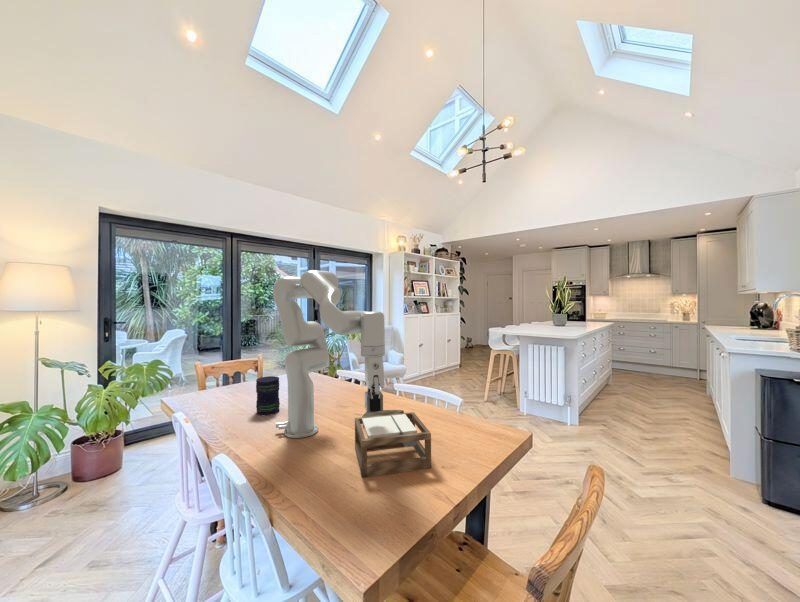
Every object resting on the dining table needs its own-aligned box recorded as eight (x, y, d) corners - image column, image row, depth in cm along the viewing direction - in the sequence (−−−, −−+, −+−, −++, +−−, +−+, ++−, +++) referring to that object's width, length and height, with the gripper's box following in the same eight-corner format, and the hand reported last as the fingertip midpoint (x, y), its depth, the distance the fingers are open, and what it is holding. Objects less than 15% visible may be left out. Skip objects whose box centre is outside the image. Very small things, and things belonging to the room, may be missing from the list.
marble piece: (405, 418, 137) (405, 408, 137) (400, 432, 123) (400, 421, 123) (367, 416, 139) (367, 407, 139) (358, 430, 125) (358, 420, 125)
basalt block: (383, 410, 99) (382, 394, 99) (367, 412, 98) (366, 396, 98) (380, 405, 104) (380, 390, 104) (364, 407, 103) (364, 391, 103)
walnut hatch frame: (361, 477, 91) (361, 441, 91) (355, 448, 109) (354, 417, 109) (431, 467, 96) (430, 433, 96) (413, 441, 114) (413, 412, 114)
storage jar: (274, 415, 141) (274, 381, 140) (252, 415, 141) (251, 381, 141) (283, 407, 150) (282, 376, 150) (262, 407, 151) (261, 376, 151)
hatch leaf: (368, 452, 93) (368, 436, 93) (361, 432, 108) (361, 417, 108) (417, 446, 97) (417, 430, 97) (404, 427, 111) (404, 413, 111)
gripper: (390, 354, 94) (391, 416, 94) (379, 346, 110) (380, 399, 110) (364, 355, 92) (365, 419, 92) (357, 347, 108) (358, 401, 108)
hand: (373, 407), depth 101 cm, fingers closed on basalt block, 5 cm apart
